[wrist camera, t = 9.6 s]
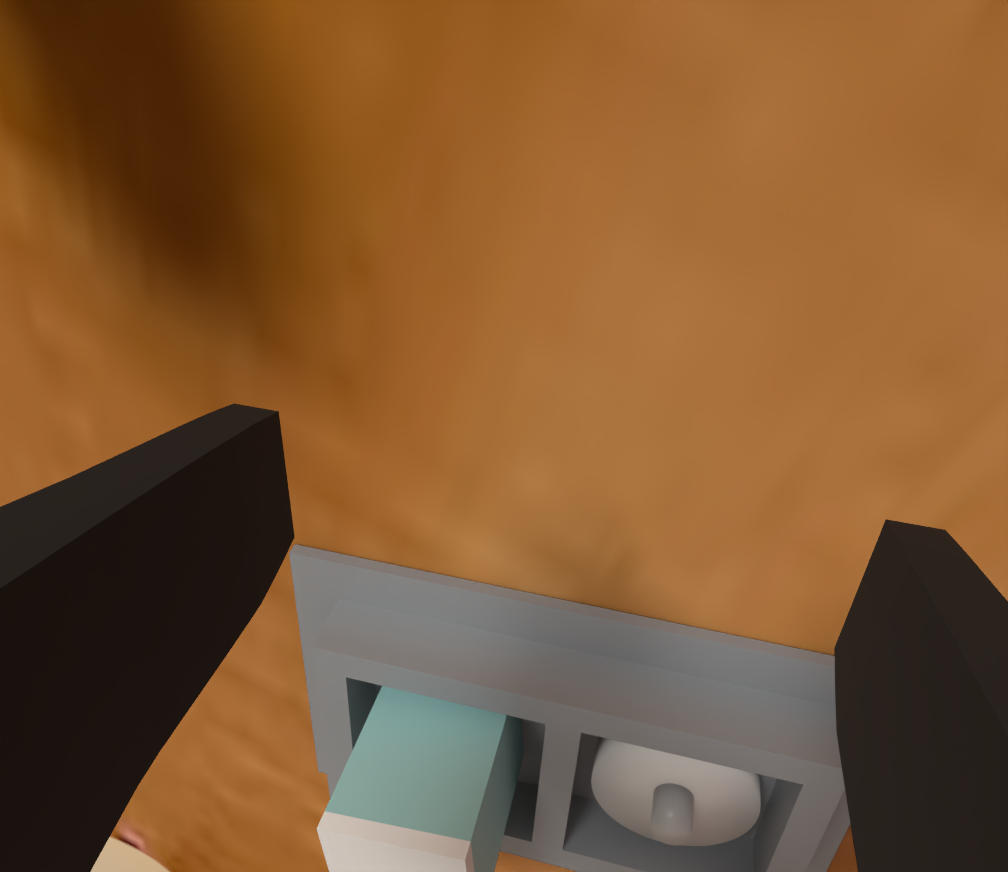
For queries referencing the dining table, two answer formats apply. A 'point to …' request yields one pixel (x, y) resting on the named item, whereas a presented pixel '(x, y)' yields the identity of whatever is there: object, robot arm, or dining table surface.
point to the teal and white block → (423, 788)
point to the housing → (591, 717)
